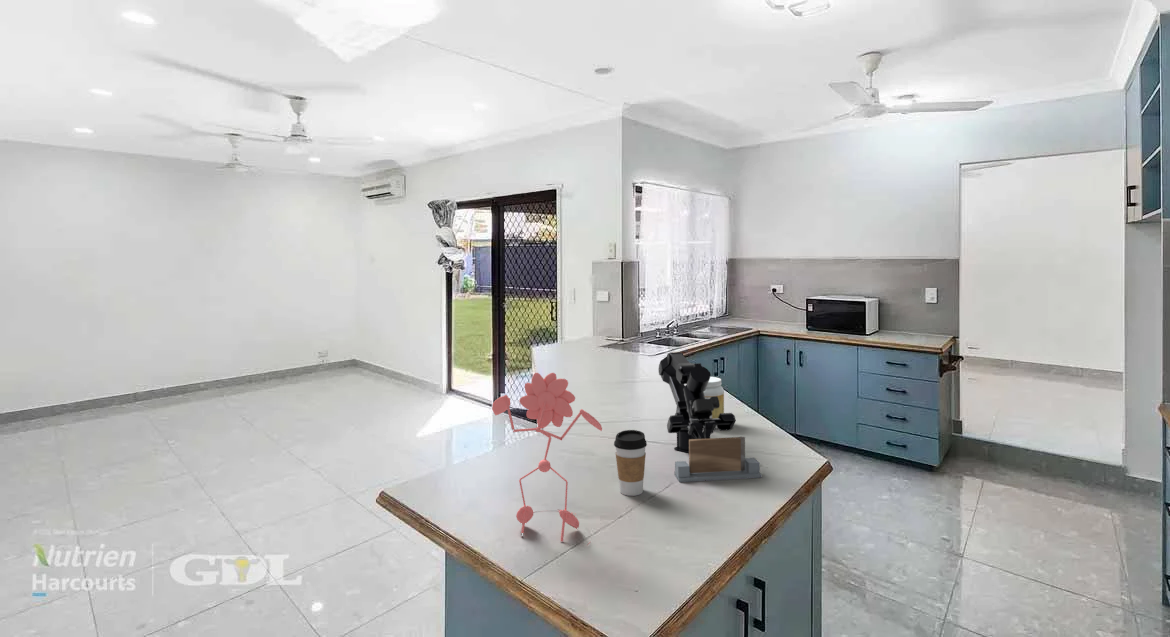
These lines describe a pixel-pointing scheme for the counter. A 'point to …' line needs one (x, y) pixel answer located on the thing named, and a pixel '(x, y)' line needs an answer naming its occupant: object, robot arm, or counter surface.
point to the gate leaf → (716, 454)
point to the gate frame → (685, 476)
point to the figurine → (545, 405)
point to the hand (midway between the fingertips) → (707, 450)
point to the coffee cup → (630, 461)
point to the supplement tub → (715, 390)
